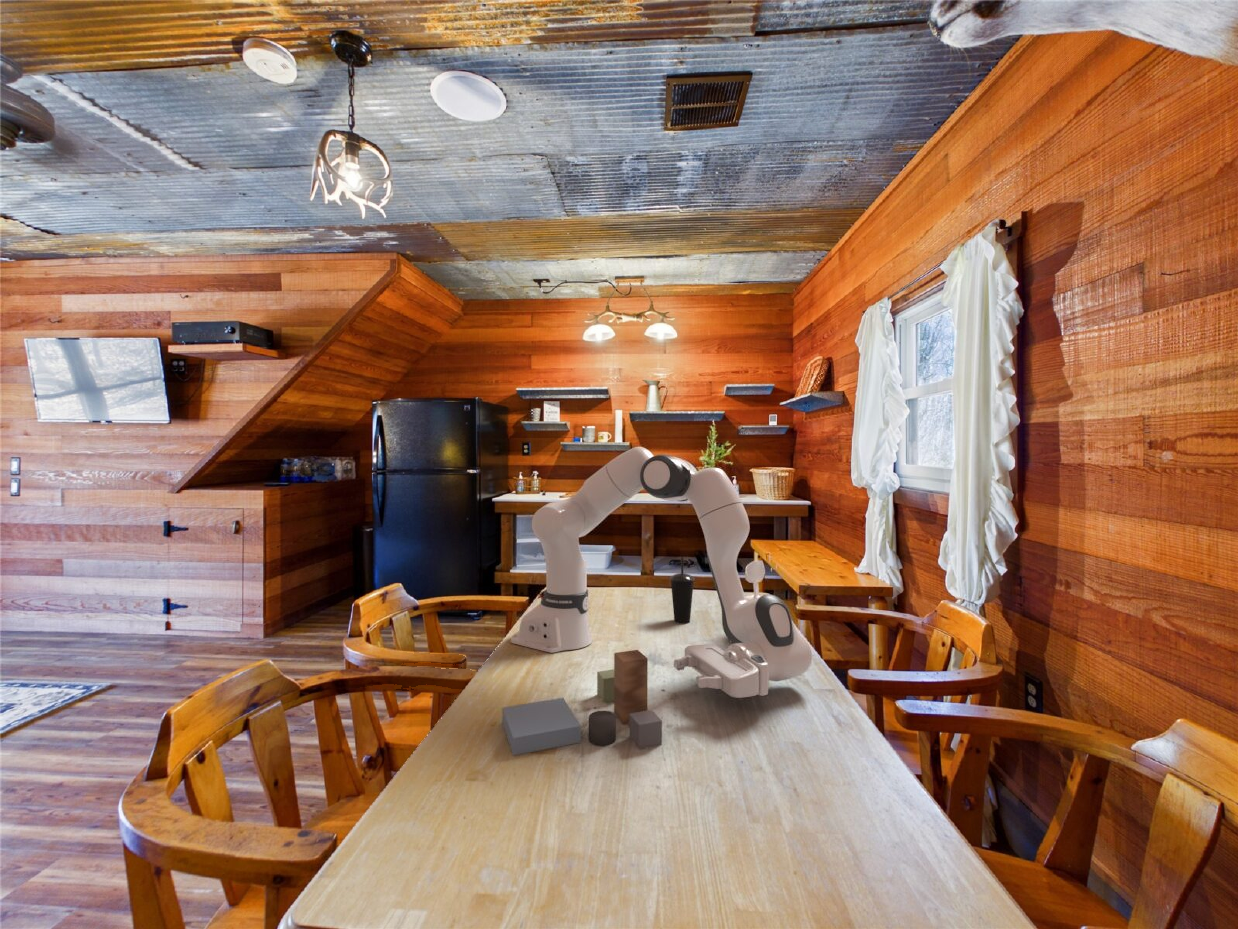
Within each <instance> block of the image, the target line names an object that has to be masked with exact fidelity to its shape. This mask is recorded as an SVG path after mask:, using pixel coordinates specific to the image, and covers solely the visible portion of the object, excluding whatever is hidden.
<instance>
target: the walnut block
mask: <svg viewBox="0 0 1238 929" xmlns="http://www.w3.org/2000/svg"><path fill="white" fill-rule="evenodd" d="M613 655H614V657H613V659H614V661H613V669H614V701H613V713H614V714H615V715H616V718H617V719H618V720H619V721H620V722H621V723H622V725H627V724H629V714H631V713H636V712H642V711H647V710H648V672H649V671H648V669H649V668H648V662H649V660H648V657H647V656H646V655H644V654H643V653H642V652H640V651H639V650H638V649H633V650H626V651H618V652H614V654H613Z"/></svg>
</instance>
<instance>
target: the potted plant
mask: <svg viewBox="0 0 1238 929" xmlns="http://www.w3.org/2000/svg"><path fill="white" fill-rule="evenodd" d="M768 558H769V560H768V561H769V562H771V559H772V557H771V554H769V556H768ZM775 569H776V571H777V570H778V564H775ZM770 571H771V573H772V571H773V568H772V566H771V568H770ZM744 572H745V574H744V576H745V577H744V578H745V581H747V582H748V583H752V585H753V595H745V598H746V599H747V601H750V600H752V599H754V598H757V597H760V596H761V595H759V593H760V592H759V584H758V583H761V582H762V581H763V579H764V578H765V574H766V569H765V564H764V562H763V560H753V561H751V562H749V563H748V564H747V565H746V567H745V571H744Z"/></svg>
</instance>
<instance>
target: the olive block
mask: <svg viewBox="0 0 1238 929" xmlns="http://www.w3.org/2000/svg"><path fill="white" fill-rule="evenodd" d="M596 676H597V677H596V678H597V679H596V680H597V681H596V682H597V683H596V684H597V685H596V686H597V687H596V690H597V691H596V692H597V694H596V695H597V696H598V697H599V699H600V700H601V701H602V703H604V704H605V703H611V702H614V668H613V669H608V670H607V669H606V670H600V671H597V675H596Z"/></svg>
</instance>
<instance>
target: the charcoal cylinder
mask: <svg viewBox="0 0 1238 929" xmlns="http://www.w3.org/2000/svg"><path fill="white" fill-rule="evenodd" d="M587 729H588V732H587V733H588V734H587V735H588V738H587V739H588V742H589V743H590V744H591V745H593V746H596V747H597V746H598V747H607V746H611V745H612V744H614V743H615V742H616V740H617V716H616V715H615V713H614V712H612V711H610V710H609V711H608V710H597V711H593V712H591V713H590V714H589V715H588V728H587Z"/></svg>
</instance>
